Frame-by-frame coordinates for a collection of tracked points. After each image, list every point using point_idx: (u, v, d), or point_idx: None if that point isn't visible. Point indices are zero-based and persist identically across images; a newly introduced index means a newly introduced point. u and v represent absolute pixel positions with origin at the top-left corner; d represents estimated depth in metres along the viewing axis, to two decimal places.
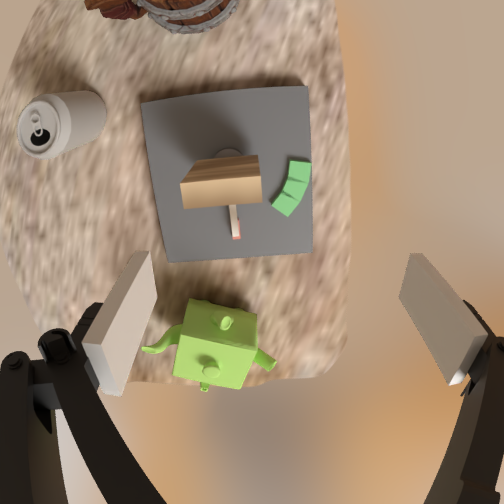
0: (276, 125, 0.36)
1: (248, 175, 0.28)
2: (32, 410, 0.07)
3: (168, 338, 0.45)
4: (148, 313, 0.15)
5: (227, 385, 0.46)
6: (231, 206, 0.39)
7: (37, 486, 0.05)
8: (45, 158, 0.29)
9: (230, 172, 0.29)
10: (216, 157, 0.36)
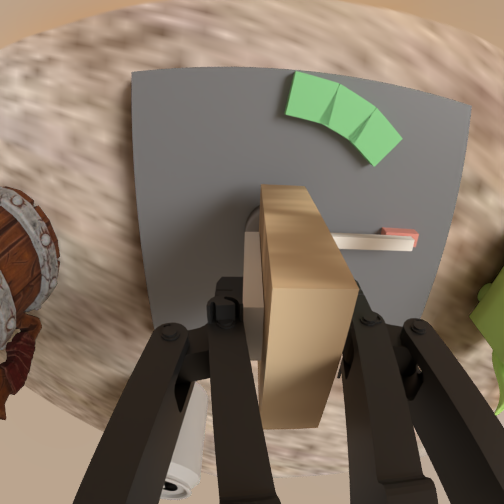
0: (208, 133, 0.18)
1: (269, 306, 0.10)
2: (172, 387, 0.09)
3: (503, 374, 0.22)
4: None
5: None
6: (357, 245, 0.20)
7: (145, 463, 0.06)
8: (197, 482, 0.22)
9: None
10: None
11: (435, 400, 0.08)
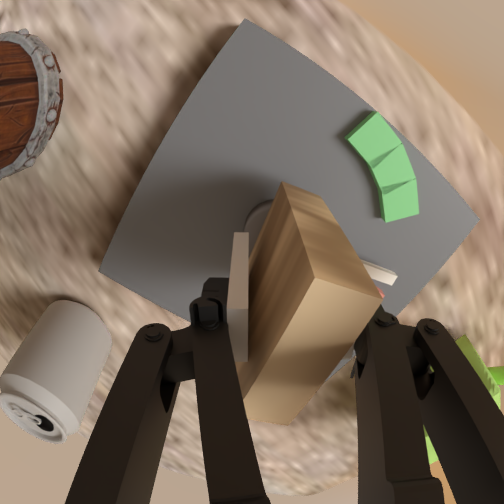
0: (274, 113, 0.18)
1: (296, 295, 0.10)
2: (158, 387, 0.09)
3: None
4: None
5: None
6: None
7: (133, 464, 0.06)
8: (74, 432, 0.20)
9: (272, 304, 0.12)
10: (249, 252, 0.20)
11: (445, 399, 0.08)
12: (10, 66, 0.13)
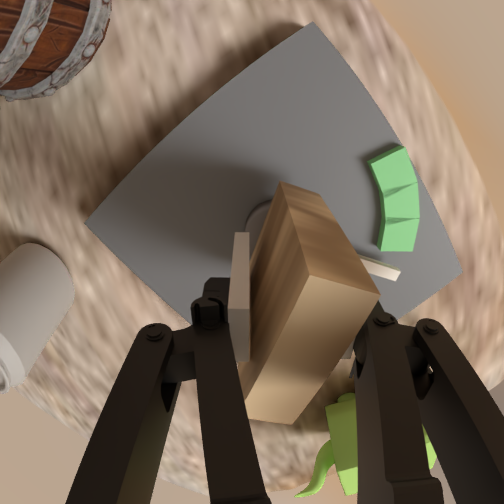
0: (310, 118, 0.18)
1: (293, 293, 0.10)
2: (159, 387, 0.09)
3: (322, 468, 0.28)
4: None
5: None
6: None
7: (134, 464, 0.06)
8: (17, 385, 0.17)
9: (271, 303, 0.12)
10: (251, 252, 0.20)
11: (445, 399, 0.08)
12: None
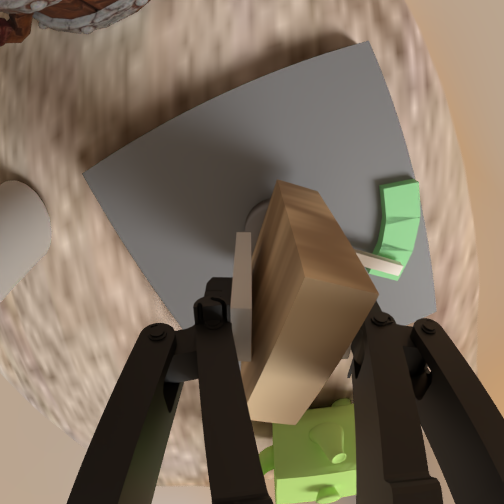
0: (339, 130, 0.18)
1: (290, 295, 0.10)
2: (161, 387, 0.09)
3: None
4: None
5: (349, 494, 0.28)
6: None
7: (136, 463, 0.06)
8: None
9: (270, 305, 0.12)
10: (251, 252, 0.20)
11: (443, 399, 0.08)
12: None
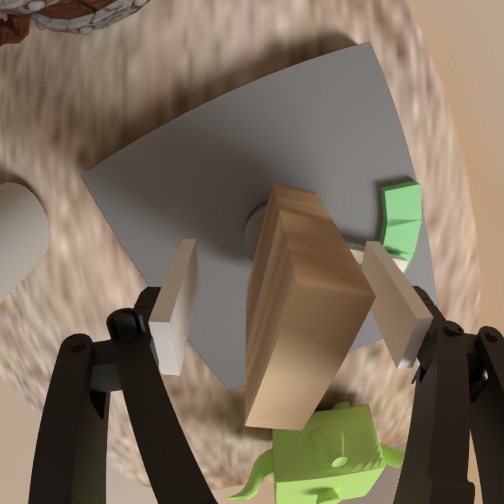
0: (340, 132, 0.18)
1: (284, 302, 0.09)
2: (87, 395, 0.08)
3: (259, 476, 0.28)
4: (194, 298, 0.16)
5: (349, 497, 0.28)
6: None
7: (78, 472, 0.06)
8: None
9: (268, 311, 0.12)
10: (252, 257, 0.20)
11: (493, 402, 0.07)
12: None
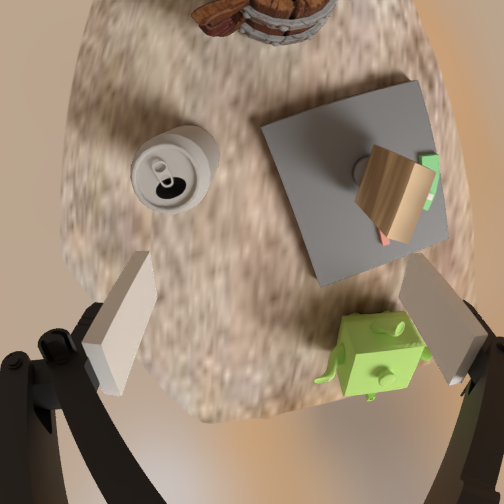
0: (401, 124, 0.33)
1: (408, 172, 0.25)
2: (32, 410, 0.07)
3: (336, 361, 0.42)
4: (148, 313, 0.15)
5: (396, 387, 0.43)
6: None
7: (37, 486, 0.05)
8: (180, 211, 0.29)
9: (394, 185, 0.27)
10: (360, 182, 0.35)
11: None
12: None
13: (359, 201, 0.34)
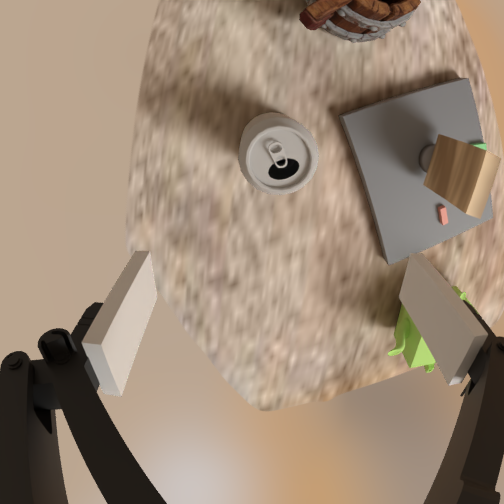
0: (456, 117, 0.34)
1: (480, 158, 0.25)
2: (32, 410, 0.07)
3: (404, 334, 0.44)
4: (148, 313, 0.15)
5: None
6: None
7: (37, 486, 0.05)
8: (288, 192, 0.31)
9: (467, 169, 0.28)
10: (427, 168, 0.35)
11: None
12: None
13: (429, 184, 0.35)
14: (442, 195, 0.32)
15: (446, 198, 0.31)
